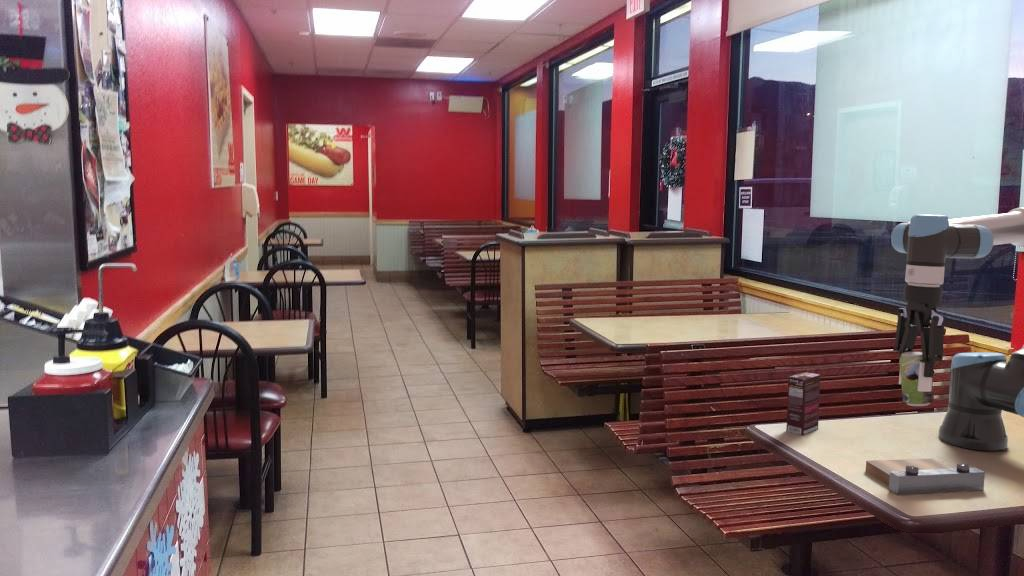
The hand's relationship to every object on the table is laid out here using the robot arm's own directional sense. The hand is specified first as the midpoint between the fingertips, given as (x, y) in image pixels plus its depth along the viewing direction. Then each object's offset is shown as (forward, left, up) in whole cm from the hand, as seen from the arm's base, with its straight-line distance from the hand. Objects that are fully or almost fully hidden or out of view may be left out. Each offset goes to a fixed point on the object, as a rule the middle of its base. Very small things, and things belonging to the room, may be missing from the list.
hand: (914, 387), depth 173 cm
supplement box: (+9, -30, -20) cm, 37 cm away
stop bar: (+1, +11, -20) cm, 22 cm away
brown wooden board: (+2, +3, -20) cm, 21 cm away
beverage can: (0, 0, -4) cm, 4 cm away
